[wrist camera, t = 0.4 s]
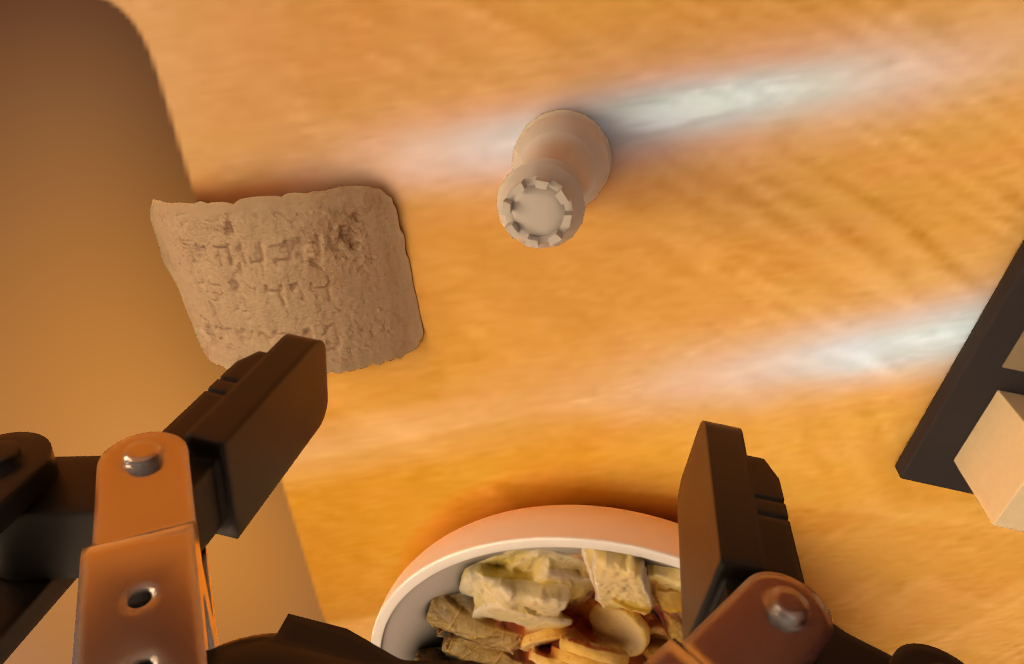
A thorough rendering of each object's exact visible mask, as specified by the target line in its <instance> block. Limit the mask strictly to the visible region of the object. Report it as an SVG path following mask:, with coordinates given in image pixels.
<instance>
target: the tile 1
mask: <svg viewBox="0 0 1024 664" xmlns="http://www.w3.org/2000/svg"><path fill="white" fill-rule="evenodd" d="M954 462H955V464H956V465H957V467H958V469H959V470H960V472H961V474H962V475H963V477H964V478H965V480H966V482H967V483H968V485H969V487H970V488H971V490H972V492H973V493H974V495H975V497H976V498H977V500H978V501H979V503H980V505H981V506H982V508H983V510H984V511H985V513H986V515H987V516H988V518H989V520H990V521H991V523H992V524H993V525H995V526H999V527H1004V528H1008V529H1013V530H1017V531H1022V532H1024V395H1020V394H1015V393H1010V392H1005V391H1000V390H998V391H997V392H996V394H995V395H994V397H993V399H992V400H991V402H990V403H989V405H988V407H987V408H986V410H985V411H984V413H983V415H982V416H981V418H980V419H979V421H978V422H977V424H976V426H975V427H974V429H973V430H972V432H971V434H970V435H969V437H968V438H967V440H966V442H965V443H964V445H963V446H962V448H961V450H960V451H959V453H958V454H957V456H956V457H955V459H954Z"/></svg>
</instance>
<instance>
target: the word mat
mask: <svg viewBox="0 0 1024 664" xmlns="http://www.w3.org/2000/svg"><path fill="white" fill-rule="evenodd" d="M998 390H1000V391H1005V392H1010V393H1015V394H1020V395H1024V241H1023V243H1022V244H1021V246H1020V248H1019V250H1018V251H1017V253H1016V255H1015V257H1014V258H1013V260H1012V262H1011V264H1010V265H1009V267H1008V269H1007V271H1006V272H1005V274H1004V276H1003V278H1002V279H1001V281H1000V283H999V285H998V286H997V288H996V290H995V292H994V293H993V295H992V297H991V299H990V300H989V302H988V304H987V306H986V307H985V309H984V311H983V313H982V314H981V316H980V318H979V320H978V321H977V323H976V325H975V327H974V328H973V330H972V332H971V334H970V335H969V337H968V339H967V341H966V342H965V344H964V346H963V348H962V349H961V351H960V353H959V355H958V357H957V358H956V360H955V362H954V364H953V365H952V367H951V369H950V371H949V372H948V374H947V376H946V378H945V379H944V381H943V383H942V385H941V386H940V388H939V390H938V392H937V393H936V395H935V397H934V399H933V400H932V402H931V404H930V406H929V407H928V409H927V411H926V413H925V414H924V416H923V418H922V420H921V421H920V423H919V425H918V427H917V428H916V430H915V432H914V434H913V435H912V437H911V439H910V441H909V442H908V444H907V446H906V448H905V449H904V451H903V453H902V455H901V456H900V458H899V460H898V462H897V463H896V465H895V467H896V469H897V471H898V474H899V476H900V477H901V478H902V479H907V480H911V481H916V482H921V483H925V484H930V485H934V486H939V487H944V488H948V489H953V490H957V491H962V492H967V493H971V494H974V493H973V492H972V490H971V488H970V487H969V485H968V483H967V482H966V480H965V478H964V477H963V475H962V474H961V472H960V470H959V469H958V467H957V465H956V464H955V462H954V459H955V457H956V456H957V454H958V453H959V451H960V450H961V448H962V446H963V445H964V443H965V442H966V440H967V438H968V437H969V435H970V434H971V432H972V430H973V429H974V427H975V426H976V424H977V422H978V421H979V419H980V418H981V416H982V415H983V413H984V411H985V410H986V408H987V407H988V405H989V403H990V402H991V400H992V399H993V397H994V395H995V394H996V392H997V391H998Z"/></svg>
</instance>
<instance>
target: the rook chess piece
mask: <svg viewBox="0 0 1024 664" xmlns="http://www.w3.org/2000/svg"><path fill="white" fill-rule="evenodd" d="M611 164H612V156H611V151H610V145H609V140H608V139H607V137H606V136H605V134H604V133H603V131H602V130H601V128H600V127H599V125H598V124H597V123H596V122H594V121H593V120H591V119H590V118H588V117H587V116H585V115H584V114H582V113H579V112H574V111H569V110H563V109H560V110H556V111H552V112H547V113H543V114H541V115H540V116H538V117H537V118H536V119H534V120H533V121H532V122H530V123H529V124H527V125H526V127H525V129H524V130H523V132H522V134H521V135H520V137H519V139H518V140H517V143H516V145H515V147H514V154H513V161H512V169H513V171H512V172H511V173H510V174H508V175H507V177H506V178H505V180H504V182H503V183H502V185H501V187H500V188H499V192H498V200H497V209H498V213H499V217H500V220H501V223H502V224H503V226H504V227H505V229H506V230H507V231H508V233H509V234H510V235H511V237H512V238H515V239H517V240H518V241H520V242H521V243H523V244H525V245H524V246H528V247H532V248H537V249H538V248H548V247H553V246H559V245H560V244H562V243H563V242H565V241H567V240H568V239H570V238H572V237H573V235H574V234H575V233H576V231H577V230H578V228H579V227H580V226H581V224H582V221H583V216H584V212H585V205H587V204H589V203H590V202H592V201H593V200H595V198H596V197H597V195H598V194H599V193H600V191H601V190H602V188H603V187H604V185H605V184H606V182H607V180H608V177H609V173H610V168H611Z"/></svg>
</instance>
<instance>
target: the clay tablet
mask: <svg viewBox="0 0 1024 664" xmlns="http://www.w3.org/2000/svg"><path fill="white" fill-rule="evenodd" d="M150 219H151V222H152V226H153V229H154V232H155V235H156V237H157V240H158V245H159V248H160V252H161V256H162V260H163V262H164V264H165V266H166V268H167V270H168V271H169V273H170V274H171V276H172V278H173V279H174V281H175V282H176V284H177V286H178V289H179V291H180V294H181V297H182V299H183V302H184V305H185V307H186V310H187V312H188V315H189V317H190V320H191V322H192V324H193V327H194V330H195V333H196V336H197V339H198V341H199V343H200V345H201V347H202V350H203V351H204V352H205V354H206V355H207V357H208V359H209V361H211V362H212V363H214V364H217V365H218V366H220V365H221V364H222V366H223V367H224V368H225V369H229V368H230V367H231V366H232V365H233V364H234V363H236V362H237V361H239V360H241V359H243V358H245V357H247V356H249V355H252V354H254V353H256V352H258V351H261V352H266V353H267V352H268V351H269V350H270V349H271V348H272V347H273V346H274V345H275V344H276V343H277V342H278V341H279V340H280V339H281V338H282V337H283V336H284V335H286V334H293V335H298V336H303V337H307V338H312V339H317V340H322V341H323V342H324V344H325V348H326V366H327V373H330V372H333V373H343V372H345V371H354V370H357V369H362V368H366V367H367V366H370V365H372V364H375V365H381V364H383V363H384V361H385V360H386V361H392V360H393V359H394V358H399V359H401V358H402V357H403V356H404V354H406V353H409V352H411V351H412V350H414V349H416V348H417V347H418V346H419V345H418V342H419V341H421V338H422V336H423V334H424V332H423V327H422V324H421V319H420V314H419V309H418V304H417V299H416V294H415V291H414V287H413V280H412V273H411V268H410V265H409V259H408V257H407V255H406V253H405V238H404V234H403V233H402V232H401V231H400V227H399V222H398V215H397V210H396V207H395V206H394V204H393V202H392V198H391V197H389V196H387V195H386V194H385V193H384V192H383V191H382V189H380V188H376V189H375V188H372V187H370V186H363V187H361V186H360V185H353V186H339V187H338V188H336V189H334V188H329V189H328V190H326V191H311V192H309V193H307V194H304V193H299V192H295V193H293V192H291V193H286V194H285V195H284V196H282V197H280V196H277V195H276V196H258V197H248V198H241V199H240V200H238V201H237V202H236V203H234V204H230V203H228V202H220V201H219V202H215V203H214V202H210V203H209V204H207V203H205V202H202V201H199V202H196V203H194V204H191V203H190V204H189V203H185V202H181V203H178V202H175V203H172V202H171V203H170V204H169V203H168V202H166V203H164V202H163V201H162V200H160V201H159V200H157V201H156V200H155V199H153V202H152V207H151V210H150Z"/></svg>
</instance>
